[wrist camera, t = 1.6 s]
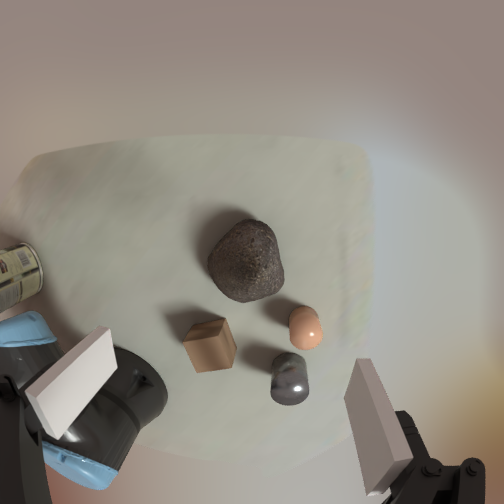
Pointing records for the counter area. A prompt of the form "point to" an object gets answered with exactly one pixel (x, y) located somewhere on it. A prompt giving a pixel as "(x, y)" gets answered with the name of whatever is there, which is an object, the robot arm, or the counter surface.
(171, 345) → the counter surface
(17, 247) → the coffee can
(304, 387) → the metal tin
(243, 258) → the stone
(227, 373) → the counter surface
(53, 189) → the counter surface
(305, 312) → the peach rounded capsule
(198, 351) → the walnut block
